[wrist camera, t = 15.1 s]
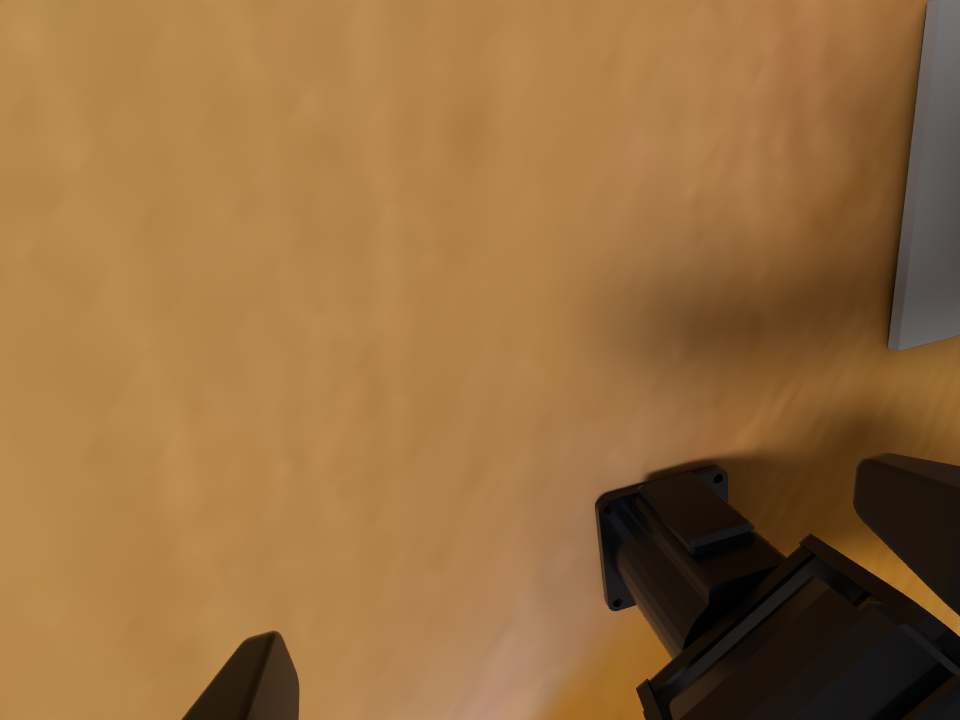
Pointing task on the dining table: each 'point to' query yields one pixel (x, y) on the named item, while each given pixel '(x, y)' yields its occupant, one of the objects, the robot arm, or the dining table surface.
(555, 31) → the dining table surface
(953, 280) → the rubber mat
